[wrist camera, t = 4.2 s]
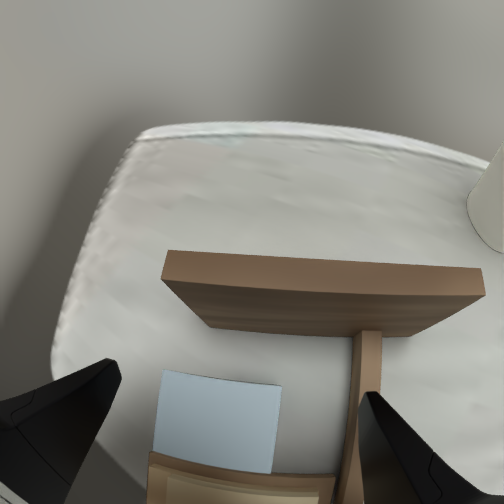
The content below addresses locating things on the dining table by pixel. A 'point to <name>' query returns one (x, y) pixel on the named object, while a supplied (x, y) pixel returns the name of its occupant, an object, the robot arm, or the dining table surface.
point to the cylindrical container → (489, 203)
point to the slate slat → (217, 421)
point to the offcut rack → (308, 324)
